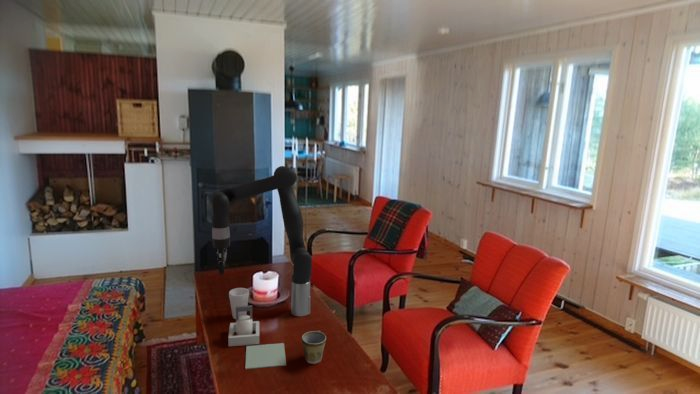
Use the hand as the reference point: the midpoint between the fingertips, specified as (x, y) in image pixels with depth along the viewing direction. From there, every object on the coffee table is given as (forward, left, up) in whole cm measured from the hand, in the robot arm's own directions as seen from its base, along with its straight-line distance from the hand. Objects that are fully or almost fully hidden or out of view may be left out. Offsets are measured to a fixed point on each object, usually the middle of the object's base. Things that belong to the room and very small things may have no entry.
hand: (222, 270), depth 191 cm
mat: (-19, +27, -28) cm, 43 cm away
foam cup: (-7, -9, -28) cm, 30 cm away
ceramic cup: (-39, +31, -28) cm, 57 cm away
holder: (-10, +11, -28) cm, 32 cm away
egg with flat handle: (-10, +11, -28) cm, 32 cm away
